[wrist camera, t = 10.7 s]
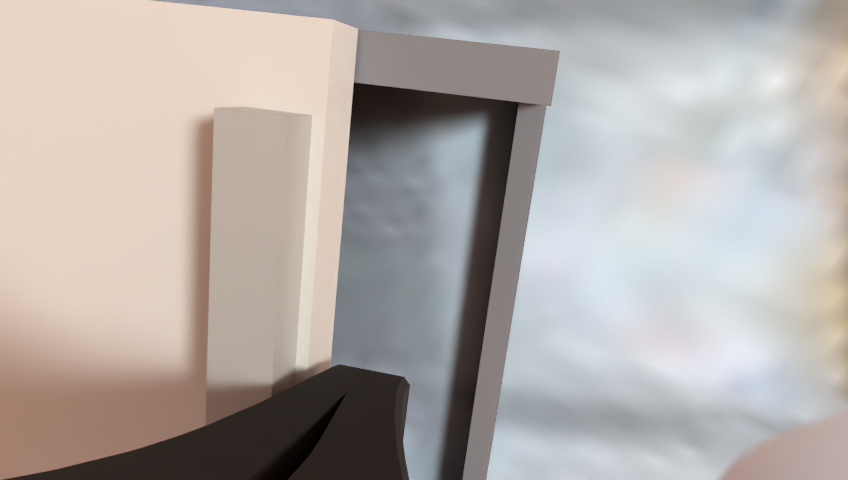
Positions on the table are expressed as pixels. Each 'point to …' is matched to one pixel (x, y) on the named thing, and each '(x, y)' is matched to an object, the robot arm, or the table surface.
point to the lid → (162, 218)
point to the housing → (533, 88)
